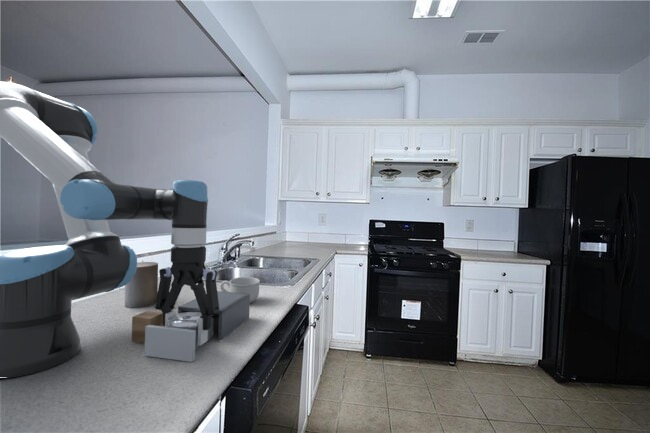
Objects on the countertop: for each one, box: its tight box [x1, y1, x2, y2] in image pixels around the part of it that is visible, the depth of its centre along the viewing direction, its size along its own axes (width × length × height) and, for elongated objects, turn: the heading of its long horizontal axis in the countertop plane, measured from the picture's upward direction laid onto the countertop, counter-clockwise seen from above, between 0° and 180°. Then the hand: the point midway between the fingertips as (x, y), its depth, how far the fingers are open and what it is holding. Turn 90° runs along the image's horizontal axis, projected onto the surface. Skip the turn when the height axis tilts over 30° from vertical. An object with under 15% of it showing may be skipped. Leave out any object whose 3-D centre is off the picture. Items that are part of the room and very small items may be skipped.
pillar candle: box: [124, 260, 159, 309], centre depth 96 cm, size 10×10×15 cm
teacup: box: [220, 276, 261, 304], centre depth 102 cm, size 14×11×8 cm
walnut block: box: [131, 309, 165, 344], centre depth 70 cm, size 5×5×6 cm
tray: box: [144, 316, 215, 363], centre depth 67 cm, size 12×12×6 cm
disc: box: [167, 312, 202, 330], centre depth 66 cm, size 8×8×2 cm
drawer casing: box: [177, 290, 251, 341], centre depth 79 cm, size 16×12×8 cm
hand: (186, 340), depth 66 cm, fingers closed on disc, 8 cm apart
